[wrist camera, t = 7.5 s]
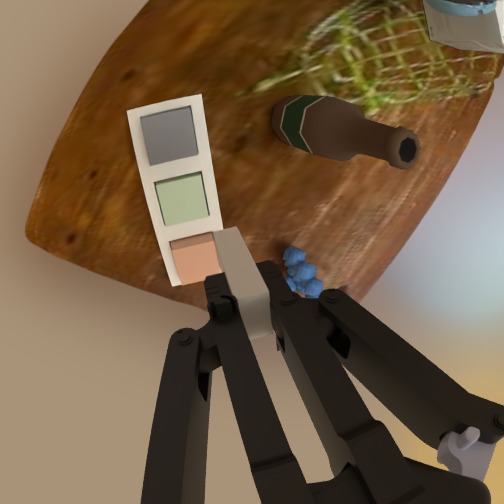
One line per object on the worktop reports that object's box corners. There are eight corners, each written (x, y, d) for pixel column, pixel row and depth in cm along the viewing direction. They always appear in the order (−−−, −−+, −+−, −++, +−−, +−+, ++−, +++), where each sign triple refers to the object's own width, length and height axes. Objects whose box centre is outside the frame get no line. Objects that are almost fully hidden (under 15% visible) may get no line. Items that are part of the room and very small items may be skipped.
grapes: (255, 244, 48) (281, 286, 38) (291, 225, 49) (325, 261, 39) (280, 291, 55) (305, 334, 45) (310, 273, 55) (341, 313, 45)
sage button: (156, 179, 38) (155, 185, 35) (198, 170, 39) (200, 175, 36) (166, 218, 41) (166, 226, 38) (205, 209, 42) (208, 216, 40)
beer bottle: (258, 126, 39) (356, 160, 19) (287, 85, 37) (405, 84, 17) (298, 154, 43) (407, 211, 23) (325, 114, 40) (448, 144, 20)
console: (129, 110, 33) (126, 110, 30) (199, 94, 35) (201, 94, 32) (171, 276, 47) (172, 286, 44) (227, 262, 49) (231, 272, 46)
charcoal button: (142, 118, 32) (140, 119, 29) (188, 107, 33) (190, 107, 30) (151, 161, 35) (150, 166, 33) (195, 151, 36) (198, 155, 34)
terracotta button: (171, 240, 41) (171, 250, 39) (210, 231, 42) (214, 240, 40) (180, 274, 44) (182, 285, 42) (217, 265, 45) (221, 275, 43)
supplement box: (462, 50, 38) (527, 59, 23) (428, 40, 37) (502, 44, 21) (449, -13, 29) (510, -16, 14) (412, -30, 27) (479, -41, 12)
